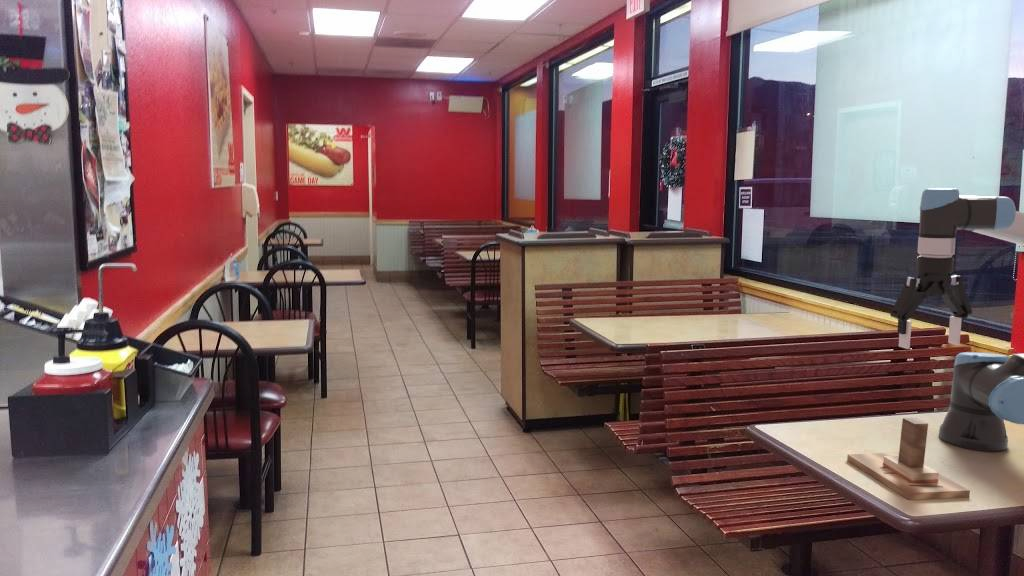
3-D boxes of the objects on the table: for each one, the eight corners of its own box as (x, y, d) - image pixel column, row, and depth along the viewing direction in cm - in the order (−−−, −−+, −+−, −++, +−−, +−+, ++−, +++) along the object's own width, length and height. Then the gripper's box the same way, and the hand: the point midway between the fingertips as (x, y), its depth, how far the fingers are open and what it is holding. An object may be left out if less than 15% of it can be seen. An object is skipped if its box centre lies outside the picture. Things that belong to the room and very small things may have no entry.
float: (907, 464, 175) (912, 413, 173) (938, 482, 165) (944, 428, 163) (882, 465, 174) (887, 413, 172) (912, 483, 164) (918, 428, 162)
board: (901, 458, 183) (902, 452, 183) (969, 497, 162) (970, 489, 161) (847, 460, 181) (847, 454, 181) (908, 499, 159) (909, 492, 159)
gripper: (968, 252, 184) (961, 339, 187) (877, 255, 179) (871, 345, 182) (994, 255, 177) (986, 346, 180) (900, 259, 171) (894, 352, 174)
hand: (929, 346), depth 181 cm, fingers open, 13 cm apart
